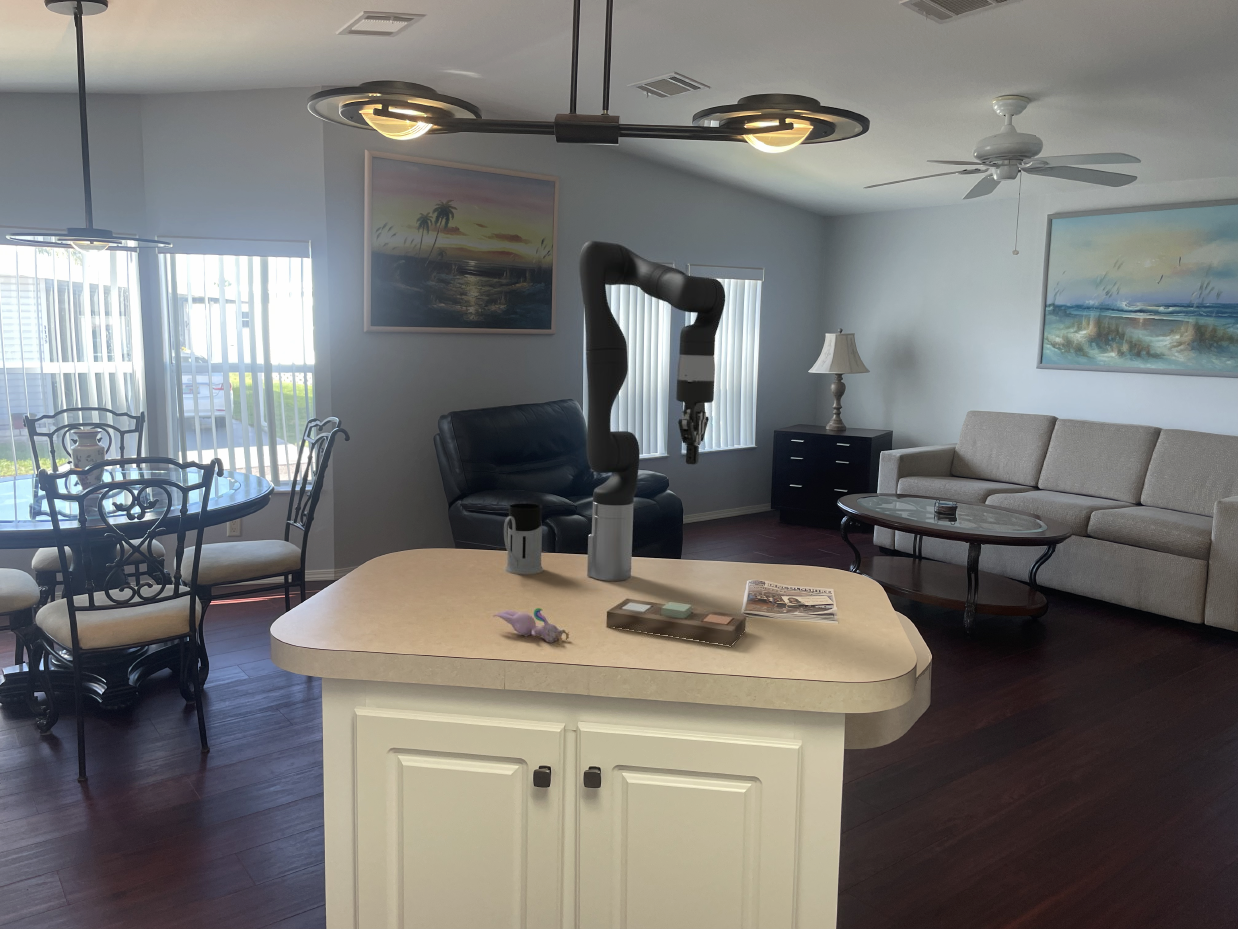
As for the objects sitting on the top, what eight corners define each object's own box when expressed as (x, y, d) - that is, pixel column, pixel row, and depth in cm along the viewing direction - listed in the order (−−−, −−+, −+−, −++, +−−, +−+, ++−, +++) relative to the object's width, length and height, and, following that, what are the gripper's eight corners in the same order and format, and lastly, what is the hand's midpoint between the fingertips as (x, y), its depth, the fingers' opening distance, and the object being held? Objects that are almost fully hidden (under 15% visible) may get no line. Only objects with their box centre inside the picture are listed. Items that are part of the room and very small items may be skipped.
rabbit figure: (571, 645, 161) (503, 618, 167) (577, 614, 160) (508, 588, 166) (553, 655, 155) (483, 627, 162) (559, 623, 154) (488, 596, 161)
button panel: (606, 627, 168) (606, 611, 167) (626, 613, 177) (626, 598, 176) (730, 647, 159) (731, 630, 158) (745, 631, 168) (746, 616, 167)
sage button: (661, 622, 166) (661, 607, 166) (668, 616, 170) (669, 601, 170) (683, 625, 165) (684, 611, 164) (691, 619, 169) (691, 605, 168)
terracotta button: (702, 635, 163) (702, 620, 163) (709, 628, 168) (709, 614, 167) (725, 639, 162) (726, 624, 161) (731, 632, 166) (732, 617, 166)
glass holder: (549, 567, 211) (550, 505, 209) (521, 581, 198) (523, 514, 196) (516, 563, 214) (517, 501, 212) (486, 576, 201) (487, 510, 199)
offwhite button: (621, 622, 169) (621, 608, 169) (629, 616, 174) (630, 602, 173) (642, 626, 168) (643, 611, 167) (650, 619, 172) (651, 605, 172)
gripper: (688, 376, 187) (684, 459, 190) (667, 377, 175) (663, 465, 177) (723, 378, 185) (718, 462, 187) (703, 379, 172) (699, 469, 175)
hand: (691, 463), depth 182 cm, fingers closed
